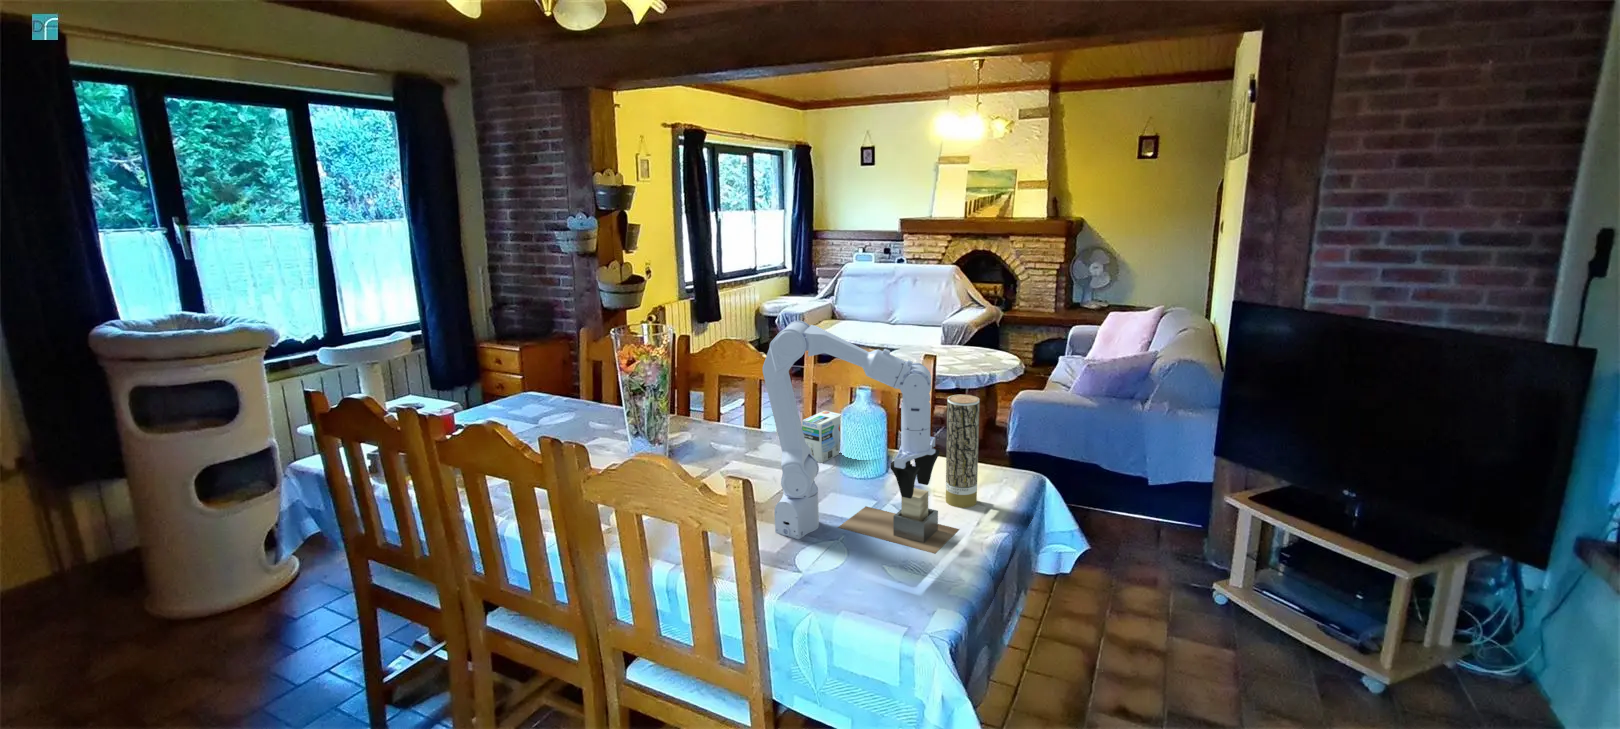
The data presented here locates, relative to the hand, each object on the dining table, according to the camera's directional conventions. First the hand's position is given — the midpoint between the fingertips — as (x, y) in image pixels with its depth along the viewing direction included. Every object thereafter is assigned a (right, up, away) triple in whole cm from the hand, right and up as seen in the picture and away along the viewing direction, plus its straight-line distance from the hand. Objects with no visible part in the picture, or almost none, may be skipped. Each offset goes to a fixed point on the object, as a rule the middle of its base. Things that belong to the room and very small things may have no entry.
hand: (915, 490), depth 150 cm
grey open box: (0, -9, +2) cm, 9 cm away
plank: (-3, -10, +4) cm, 11 cm away
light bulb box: (-17, +1, +50) cm, 53 cm away
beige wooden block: (0, -8, +2) cm, 8 cm away
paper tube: (+13, -7, +16) cm, 22 cm away
